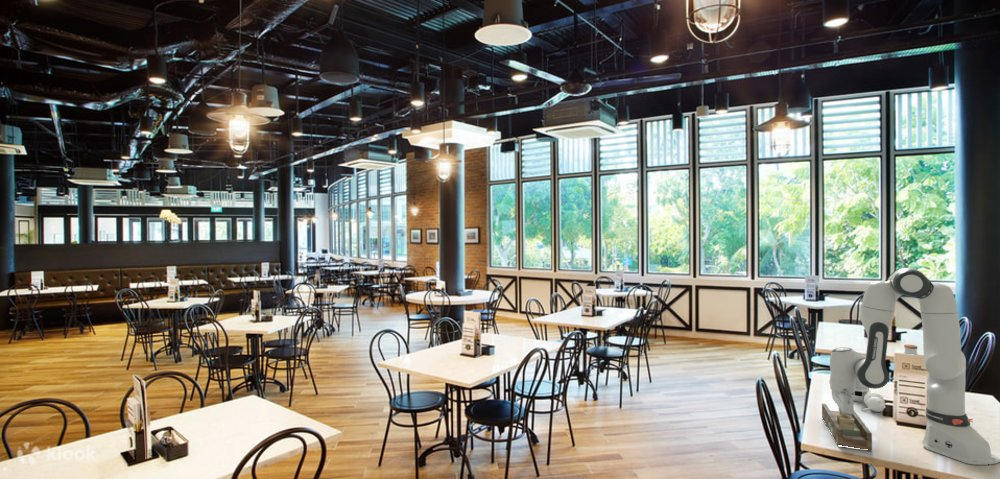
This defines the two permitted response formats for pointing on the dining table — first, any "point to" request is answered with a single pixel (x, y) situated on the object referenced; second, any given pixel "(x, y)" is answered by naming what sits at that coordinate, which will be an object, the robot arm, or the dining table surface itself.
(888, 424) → the dining table surface
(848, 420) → the maple block
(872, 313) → the robot arm
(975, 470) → the dining table surface
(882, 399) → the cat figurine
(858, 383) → the supplement can
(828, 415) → the brown long open box
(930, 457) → the dining table surface
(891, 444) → the dining table surface
